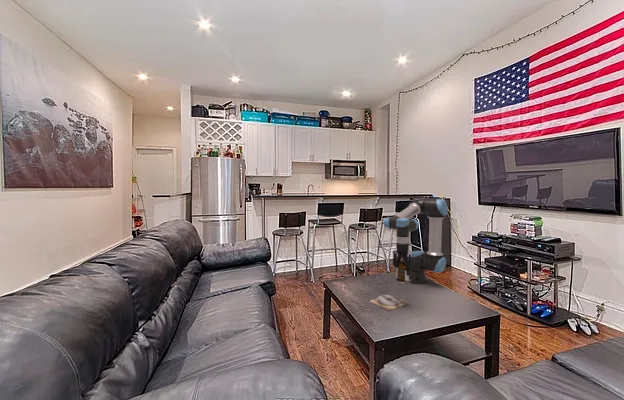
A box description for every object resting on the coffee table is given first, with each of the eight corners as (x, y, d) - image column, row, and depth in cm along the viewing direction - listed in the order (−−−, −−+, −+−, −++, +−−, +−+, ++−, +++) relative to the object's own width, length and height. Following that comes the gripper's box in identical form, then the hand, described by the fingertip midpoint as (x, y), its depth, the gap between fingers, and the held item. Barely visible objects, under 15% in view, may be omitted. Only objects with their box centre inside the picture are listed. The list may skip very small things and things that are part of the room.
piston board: (389, 295, 194) (389, 291, 194) (408, 303, 181) (408, 299, 181) (370, 302, 185) (370, 298, 184) (388, 311, 171) (388, 307, 171)
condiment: (411, 280, 178) (411, 262, 177) (403, 283, 173) (402, 264, 173) (401, 277, 184) (401, 259, 183) (393, 280, 179) (393, 261, 178)
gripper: (386, 241, 183) (386, 275, 184) (411, 246, 167) (411, 284, 169) (394, 239, 187) (394, 273, 189) (419, 244, 171) (419, 281, 173)
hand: (402, 278), depth 179 cm, fingers closed on condiment, 6 cm apart
